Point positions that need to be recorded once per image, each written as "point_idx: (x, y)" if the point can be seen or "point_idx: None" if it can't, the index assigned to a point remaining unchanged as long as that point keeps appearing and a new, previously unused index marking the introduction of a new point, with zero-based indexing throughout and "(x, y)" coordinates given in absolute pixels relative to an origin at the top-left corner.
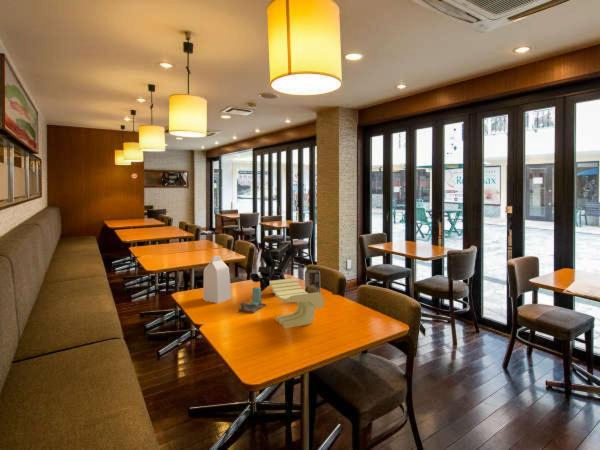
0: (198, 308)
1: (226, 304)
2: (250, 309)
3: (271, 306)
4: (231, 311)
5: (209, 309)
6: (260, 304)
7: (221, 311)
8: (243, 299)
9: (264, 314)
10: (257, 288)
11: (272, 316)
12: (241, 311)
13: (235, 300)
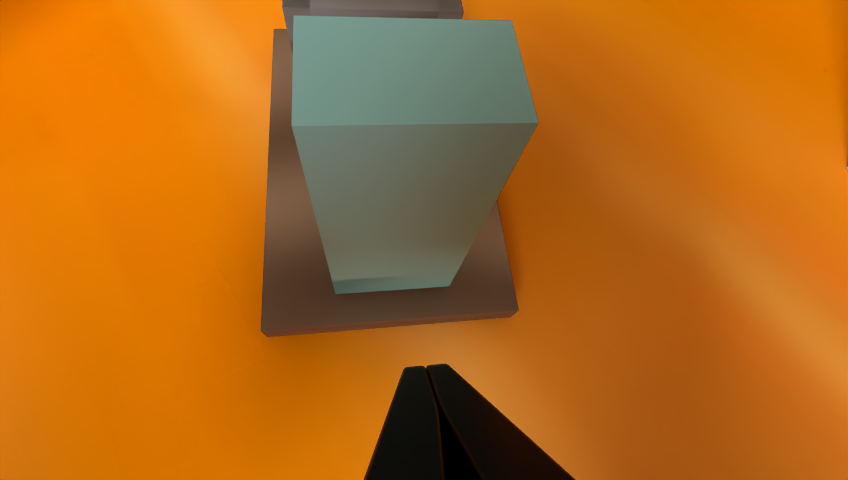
0: (813, 6)
1: (744, 170)
2: None
3: (160, 341)
4: (519, 27)
5: (723, 13)
6: None
7: (595, 4)
8: (781, 451)
9: (134, 54)
10: (349, 27)
11: (10, 32)
12: None
13: (815, 347)
